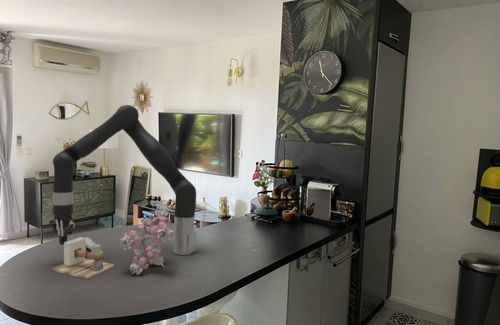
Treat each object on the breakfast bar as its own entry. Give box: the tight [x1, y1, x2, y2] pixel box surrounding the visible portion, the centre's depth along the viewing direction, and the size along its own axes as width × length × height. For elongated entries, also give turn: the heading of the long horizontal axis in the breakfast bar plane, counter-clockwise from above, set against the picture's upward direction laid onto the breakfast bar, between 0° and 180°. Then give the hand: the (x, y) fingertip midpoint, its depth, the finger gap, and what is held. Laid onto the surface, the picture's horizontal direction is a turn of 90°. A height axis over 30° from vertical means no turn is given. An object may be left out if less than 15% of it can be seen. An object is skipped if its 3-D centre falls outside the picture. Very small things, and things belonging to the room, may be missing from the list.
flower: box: [118, 208, 174, 275], centre depth 148 cm, size 20×22×25 cm
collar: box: [63, 236, 87, 266], centre depth 146 cm, size 3×8×9 cm, turn 159°
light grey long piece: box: [83, 236, 104, 260], centre depth 164 cm, size 5×7×25 cm
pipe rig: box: [51, 249, 115, 280], centre depth 145 cm, size 18×14×7 cm
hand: (63, 244), depth 148 cm, fingers closed
